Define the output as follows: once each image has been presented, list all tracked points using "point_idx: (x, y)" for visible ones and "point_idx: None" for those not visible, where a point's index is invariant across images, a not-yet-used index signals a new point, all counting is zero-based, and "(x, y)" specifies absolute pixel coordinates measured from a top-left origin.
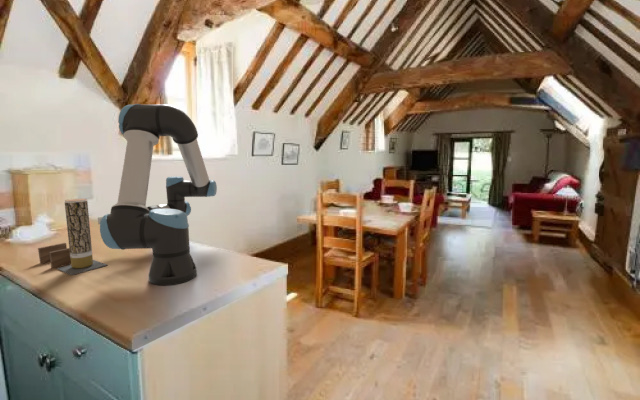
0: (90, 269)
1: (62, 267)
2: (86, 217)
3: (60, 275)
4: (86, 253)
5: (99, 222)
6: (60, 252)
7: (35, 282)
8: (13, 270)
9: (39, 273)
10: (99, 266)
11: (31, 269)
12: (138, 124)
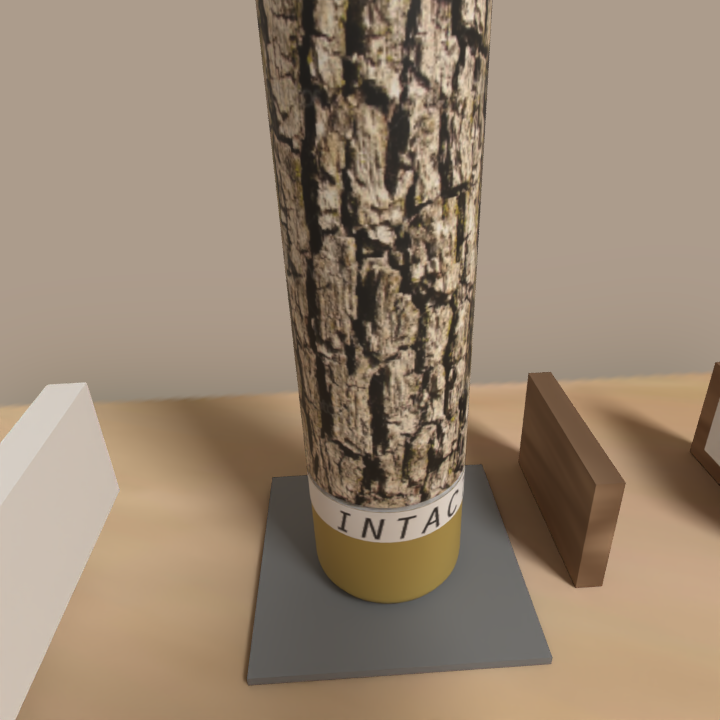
0: (263, 563)
1: (468, 482)
2: (283, 160)
3: None
4: (308, 474)
5: (717, 427)
6: (545, 416)
7: None
8: (620, 378)
9: None
10: (262, 619)
11: (580, 413)
12: None
